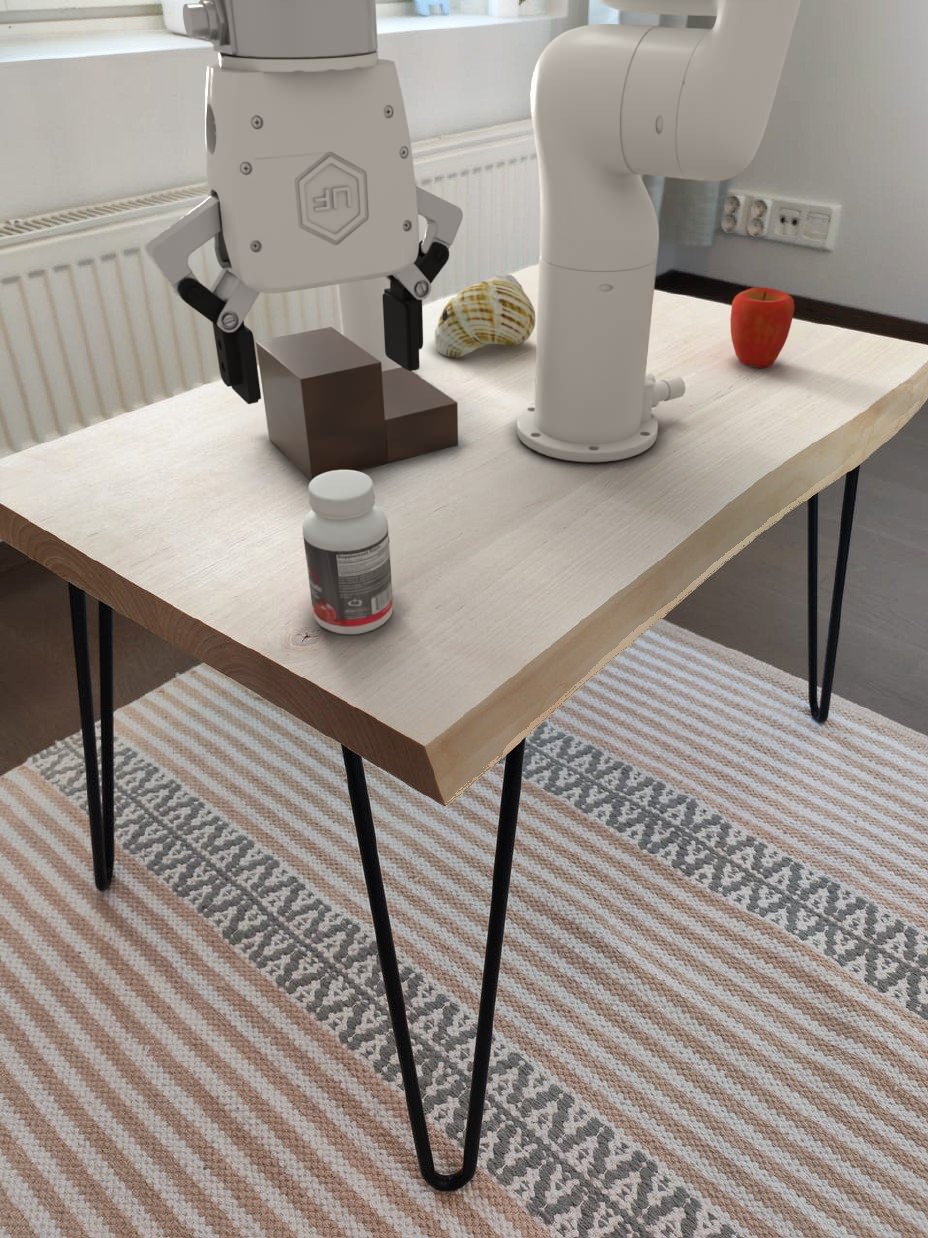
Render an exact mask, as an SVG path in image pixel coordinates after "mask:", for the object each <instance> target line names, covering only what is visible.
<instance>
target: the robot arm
mask: <svg viewBox="0 0 928 1238" xmlns="http://www.w3.org/2000/svg"><path fill="white" fill-rule="evenodd" d="M376 1H377V0H199V1H198V3H184V4H183V7H182V19H183V25H184V29H185V31H186V32H185V33H186V35H187V37H188V38H189V39H203V40H205V41H206V42H210V43H211V44H212V45H213V51H214V52H218V60H219V63H213V64H209V65H208V66H207V69H206V70H207V71H206V83H205V103H204V105H205V111H204V112H205V115H204V119H205V120H204V122H205V124H204V125H205V126H204V129H205V130H204V131H205V133H204V137H205V138H204V139H205V140H204V141H205V142H204V143H205V172H206V185H207V187H206V188H207V198H206V199H205V200H204V201H203V202H201V203H200V204H199V205H197V206H196V207H195V208H193V209H192V210H190V211H189V212H187V213H186V214H185V215H184V216H182V217H181V218H179V219H178V220H177V221H175V222H174V223H172V224H171V225H170V226H169V227H168V228H166V229H165V230H163V231H162V232H161V233H159V234H158V235H157V236H155V237H154V238H152V239H151V240H150V241H149V242H148V243H147V245H146V248H145V250H146V255H147V256H148V257H149V259H150V260H151V262H152V263H153V264H154V266H155V267H156V268H157V270H158V271H159V273H160V274H161V276H162V277H163V278H164V280H166V282H167V283H168V285H169V286H170V287H171V289H172V290H173V292H174V293H175V295H177V296H178V297H179V298H180V299H181V300H182V301H183V302H184V303H186V304H187V305H188V306H189V307H191V308H192V309H194V310H195V311H196V312H197V313H199V314H200V315H202V316H203V317H204V318H206V319H207V320H208V321H210V322H211V323H212V328H213V334H214V340H215V348H216V355H217V356H216V357H217V362H218V369H219V374H220V377H221V380H222V382H223V384H224V385H225V386H226V387H231V389H232V390H233V391H234V392H235V393H236V394H237V395H238V396H239V397H240V398H241V399H242V400H243V401H244V402H245V403H246V404H247V405H251V404H257V403H259V401H260V400H261V399H262V393H261V385H260V377H259V376H260V375H259V369H258V368H259V367H258V362H257V360H258V359H257V354H256V353H257V351H256V343H255V338H254V337H255V336H254V334H253V331H252V330H251V329H250V328H249V327H247V326H246V325H245V319H246V317H247V315H248V314H249V312H250V310H251V309H252V307H253V305H254V304H255V302H256V300H257V298H258V297H259V295H260V294H261V293H262V294H282V293H288V292H295V291H296V292H297V291H302V290H303V291H304V290H311V289H316V288H317V289H318V288H323V287H329V286H337V284H343V283H349V282H355V281H361V280H367V279H373V278H379V277H384V276H385V277H386V278H387V279H388V280H389V282H390V288H388V289H384V294H383V296H382V299H383V319H384V339H385V353H386V356H387V357H388V358H389V359H391V360H392V361H394V362H395V363H397V364H398V365H400V366H401V367H403V368H404V369H406V370H408V371H412V372H414V371H418V370H419V369H420V350H422V348H423V346H424V320H423V318H424V317H423V300H425V299H427V298H428V297H429V296H430V293H431V291H432V285H431V284H432V283H433V282H434V281H435V279H436V278H437V276H438V275H439V273H440V272H441V271H442V269H443V268H444V267H445V265H446V264H447V263H448V261H449V259H450V248H451V246H452V245H453V243H454V241H455V238H456V235H457V233H458V231H459V229H460V226H461V223H462V221H463V217H464V215H463V214H464V213H463V210H462V208H460V207H459V206H457V205H455V204H454V203H451V202H449V201H447V200H445V199H443V198H441V197H440V196H437V195H435V194H433V193H431V192H429V191H427V190H425V189H423V188H421V187H419V186H417V185H416V177H415V169H414V158H413V151H412V144H411V143H412V142H411V136H410V130H409V125H408V120H407V112H406V107H405V103H404V98H403V97H404V96H403V92H402V88H401V83H400V80H399V75H398V71H397V66H396V62H395V61H394V60H390V59H385V58H384V59H383V58H379V49H378V46H379V45H378V44H379V43H378V29H377V28H378V26H377V24H378V23H377V3H376ZM597 1H598V2H600V3H601V4H602V5H604V6H606V7H608V8H611V9H614V10H617V11H622V12H630V13H631V12H632V13H639V14H649V15H651V14H652V15H672V16H673V15H675V16H699V17H716V20H715V22H714V25H713V26H712V28H695V27H671V26H670V27H669V26H667V27H666V26H662V25H650V24H648V25H646V24H621V23H598V24H597V23H596V24H587V25H582V26H578V27H575V28H572V29H569V30H566V31H565V32H563V33H561V34H560V35H558V36H557V37H555V38H553V40H551V41H550V42H549V44H547V46H546V47H545V48H544V49H543V50H542V52H541V54H540V55H539V58H538V60H537V61H536V64H535V67H534V71H533V75H532V78H531V85H530V86H531V87H530V115H531V123H532V131H533V137H534V138H533V139H534V143H535V151H536V159H537V160H536V161H537V166H538V179H539V202H540V203H539V204H540V206H539V207H540V210H539V214H540V215H539V219H540V220H539V253H538V256H539V258H538V286H537V287H538V288H537V289H538V290H537V291H538V292H537V318H536V323H537V324H536V349H535V350H536V352H535V381H534V382H535V384H534V402H533V403H531V404H529V405H527V406H526V407H525V408H523V409H522V410H521V412H520V413H519V414H518V416H517V418H516V434H517V437H518V438H519V439H520V441H521V442H522V444H524V445H525V446H527V447H528V448H529V449H530V450H533V451H535V452H537V453H539V454H541V455H544V456H546V457H550V458H553V459H558V460H562V461H568V462H575V463H576V462H577V463H606V462H607V463H608V462H617V461H620V460H625V459H629V458H632V457H635V456H638V455H640V454H642V453H644V452H645V451H647V450H648V449H650V448H651V447H652V446H653V445H654V444H655V442H656V440H657V438H658V432H659V424H658V423H659V422H658V420H657V419H656V416H654V414H653V413H652V408H657V406H659V404H660V402H667V401H672V400H675V399H678V398H681V397H683V396H684V395H685V393H686V384H685V381H684V379H683V378H682V377H681V376H680V375H679V376H678V375H677V376H673V377H669V378H666V379H660V380H659V381H656V377H655V375H654V374H653V373H650V372H649V373H647V364H648V356H649V355H648V353H649V344H650V333H651V324H652V316H653V315H652V313H653V304H654V303H653V302H654V295H655V284H656V275H657V265H658V256H659V248H660V247H659V245H660V229H659V228H660V227H659V222H658V216H657V212H656V209H655V206H654V204H653V203H654V202H653V201H652V199H651V196H650V194H649V192H648V189H647V188H646V185H645V183H644V182H643V179H642V177H641V175H647V176H654V177H655V176H656V177H663V178H673V179H679V180H680V179H682V180H691V181H700V182H722V181H728V180H730V179H733V178H735V177H737V176H739V175H740V174H742V173H743V172H744V171H745V170H746V169H747V168H748V167H749V165H750V164H751V162H752V161H753V160H754V158H755V156H756V154H757V152H758V150H759V148H760V145H761V143H762V141H763V138H764V135H765V132H766V129H767V126H768V123H769V119H770V116H771V112H772V109H773V105H774V102H775V98H776V94H777V90H778V87H779V84H780V79H781V76H782V72H783V68H784V65H785V61H786V58H787V54H788V50H789V47H790V44H791V39H792V36H793V32H794V28H795V24H796V21H797V18H798V15H799V9H800V6H801V4H802V0H597ZM419 216H422V217H423V218H424V219H425V220H426V229H425V232H424V234H425V235H424V238H422V239H421V240H420V228H419V227H420V222H419ZM211 239H212V244H213V249H214V253H215V257H216V260H217V263H218V264H219V266H220V267H221V270H220V272H219V274H218V276H217V277H216V279H215V280H214V283H213V284H212V285H211V287H210V289H209V288H208V287H206V286H205V285H203V283H202V282H200V281H199V280H198V279H197V277H196V275H195V274H194V273H193V271H192V269H191V268H190V266H189V262H188V261H189V257H190V255H191V254H193V253H194V252H195V251H197V249H199V248H201V247H202V246H203V245H205V243H207V242H208V241H210V240H211Z"/></svg>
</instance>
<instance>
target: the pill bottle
mask: <svg viewBox="0 0 928 1238" xmlns="http://www.w3.org/2000/svg"><path fill="white" fill-rule="evenodd" d="M308 503H309V506H310V507H311V510H309V512H308V513H307V514H306V515H305V517H304V520H303V523H302V537H303V538H302V539H303V544H304V553H305V560H306V567H307V574H308V581H309V582H308V583H309V590H310V591H309V592H310V600H311V606H312V614H313V617H314V619H315V621H316V622H317V624H318V625H320V626H321V627H322V628H323V629H325V630H328V631H330V632H332V633H336V634H341V635H359V634H365V633H368V632H371V631H373V630H376V629H378V628H379V627H381V626H382V625H384V624H385V623H386V622H387V621H388V620H389V619H390V618H391V616H392V613H393V610H394V600H393V599H394V596H393V583H392V582H393V581H392V565H391V552H390V551H391V550H390V535H389V523H388V518H387V516H386V514H385V512H384V511H383V510H382V509H381V508H380V507H379V506H378V505H376V495H375V489H374V482H373V479H372V478H371V477H370V476H369V475H368V474H366V473H364V472H362V471H354V470H335V471H329V472H326V473H323V474H321V475H318V476H317V477H315V478H314V479H312V481H309V484H308Z"/></svg>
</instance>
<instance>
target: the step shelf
mask: <svg viewBox="0 0 928 1238" xmlns="http://www.w3.org/2000/svg"><path fill="white" fill-rule="evenodd" d="M255 347H256V353H257V354H256V355H257V360H258V368H259V374H260V375H259V376H260V382H261V390H262V396H263V404H264V411H265V412H264V413H265V419H266V425H267V432H268V439H269V440H270V441H271V442H272V443H273V444H274V445H275V446H276V447H277V448H278V449H279V450H280V451H281V453H283V454H284V455H285V457H286V458H287V459H288V460H289V461H290V462H291V463H292V464H293V465H295V467H296V468H297V469H298V470H299V471H300V472H301V473H302V474H303V475H304V476H305V477H306V479H308V480H309V482H311V481H312V479H314V478H315V477H317V476H318V475H321V474H323V473H326V472H329V471H335V470H354V471H358V472H360V471H363V470H366V469H367V470H368V469H371V468H375V467H378V466H382V465H386V464H388V463H393V462H397V461H400V460H404V459H408V458H411V457H415V456H418V455H423V454H427V453H430V452H434V451H439V450H442V449H446V448H450V447H455V446H458V445H459V414H458V412H459V411H458V409H459V408H458V407H459V405H458V402H457V401H456V400H455V399H453V398H452V397H450V396H449V395H447V394H446V393H445V392H443V391H442V390H441V389H439V388H437V387H436V386H434V385H433V384H431V383H430V382H428V381H427V380H425V379H424V378H422V377H421V376H420V375H418V374H416V373H415V372H414V371H408V370H406V369H404V368H403V367H400V368H396V369H391V370H386V371H382V365H381V362H380V361H379V360H378V359H376V358H375V357H373V356H372V355H370V354H369V353H368V352H366V351H365V350H363V349H362V348H361V347H359V346H358V345H356V344H355V343H353V342H352V341H351V340H349V339H348V338H346V337H345V336H344V335H342V332H340V331H338V330H337V329H335V328H334V327H332V326H329V327H322V328H319V329H313V330H308V331H303V332H297V333H292V334H287V335H281V336H277V337H272V338H267V339H261V340H256V341H255Z"/></svg>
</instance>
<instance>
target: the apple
mask: <svg viewBox="0 0 928 1238" xmlns="http://www.w3.org/2000/svg"><path fill="white" fill-rule="evenodd" d="M794 312H795V300H794V298H793V297H792V296H791V295H789V294H788V293H787V292H784V291H782V290H777V289H774V288H769V287H759V286H756V287H752V288H748V289H745V290H743V291H740V292H739V293H738V294H736V295H735V296H734V298H733V299H732V303H731V310H730V318H729V319H730V320H729V321H730V336H731V343H732V346H733V350H734V352H735V356H736V358H737V360H738V361H739V362H740V363H741V364H743V365H745V366H748V367H754V368H758V369H763V368H768V367H770V366H772V365H773V364H774V363H775V362H776V360H777V359H778V357H779V356H780V354H781V352H782V350H783V348H784V346H785V345H786V342H787V339H788V337H789V333H790V329H791V326H792V322H793V318H794Z"/></svg>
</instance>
